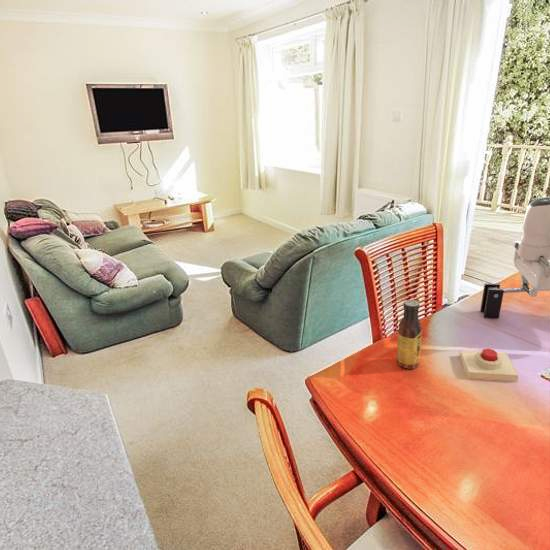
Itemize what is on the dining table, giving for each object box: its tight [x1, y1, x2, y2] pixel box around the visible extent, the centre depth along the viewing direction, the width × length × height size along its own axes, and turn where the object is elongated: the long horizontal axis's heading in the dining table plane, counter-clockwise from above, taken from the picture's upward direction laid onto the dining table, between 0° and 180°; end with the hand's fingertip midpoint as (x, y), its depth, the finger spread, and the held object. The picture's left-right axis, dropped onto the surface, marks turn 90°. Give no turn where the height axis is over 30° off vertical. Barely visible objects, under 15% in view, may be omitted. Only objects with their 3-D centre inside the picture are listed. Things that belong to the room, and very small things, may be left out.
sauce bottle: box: [396, 299, 423, 370], centre depth 105 cm, size 6×6×20 cm
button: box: [481, 348, 498, 361], centre depth 102 cm, size 4×4×2 cm
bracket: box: [479, 282, 505, 320], centre depth 125 cm, size 12×9×12 cm
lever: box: [488, 284, 531, 295], centre depth 122 cm, size 12×5×2 cm, turn 77°
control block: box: [459, 349, 520, 383], centre depth 103 cm, size 12×10×4 cm
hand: (528, 290), depth 121 cm, fingers closed on lever, 5 cm apart
